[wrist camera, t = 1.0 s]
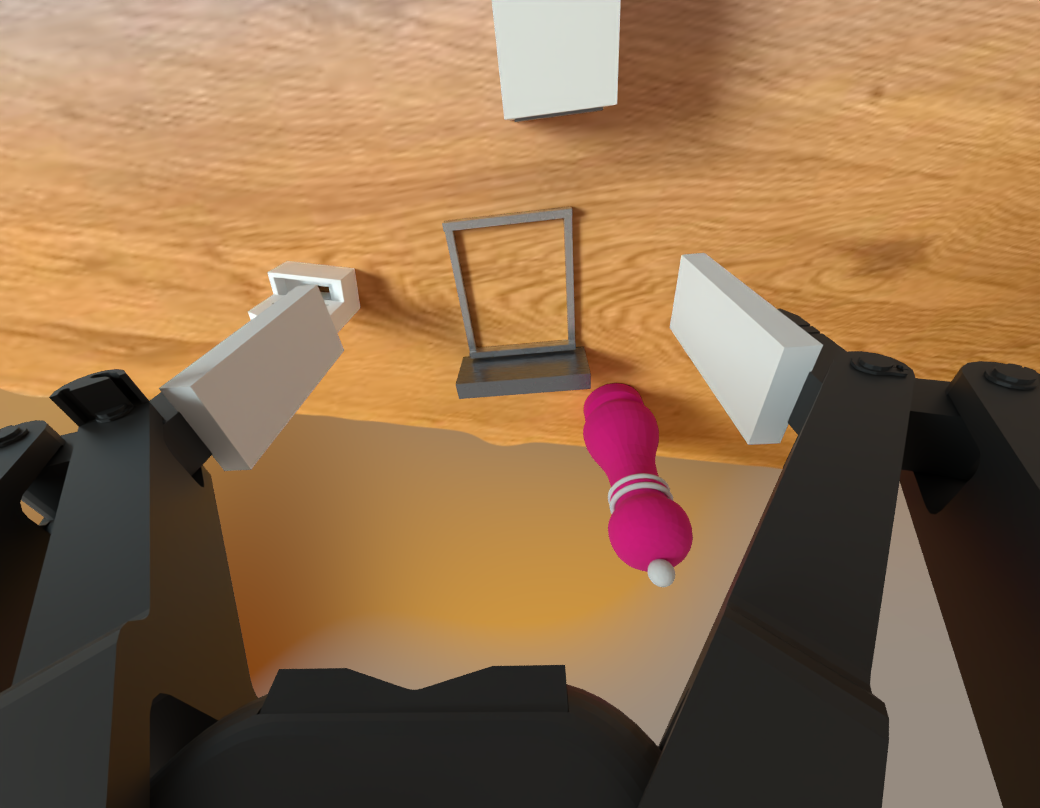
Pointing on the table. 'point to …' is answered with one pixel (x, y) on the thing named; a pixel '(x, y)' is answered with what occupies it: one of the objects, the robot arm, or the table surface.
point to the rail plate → (519, 362)
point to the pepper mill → (635, 483)
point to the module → (556, 56)
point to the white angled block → (338, 279)
